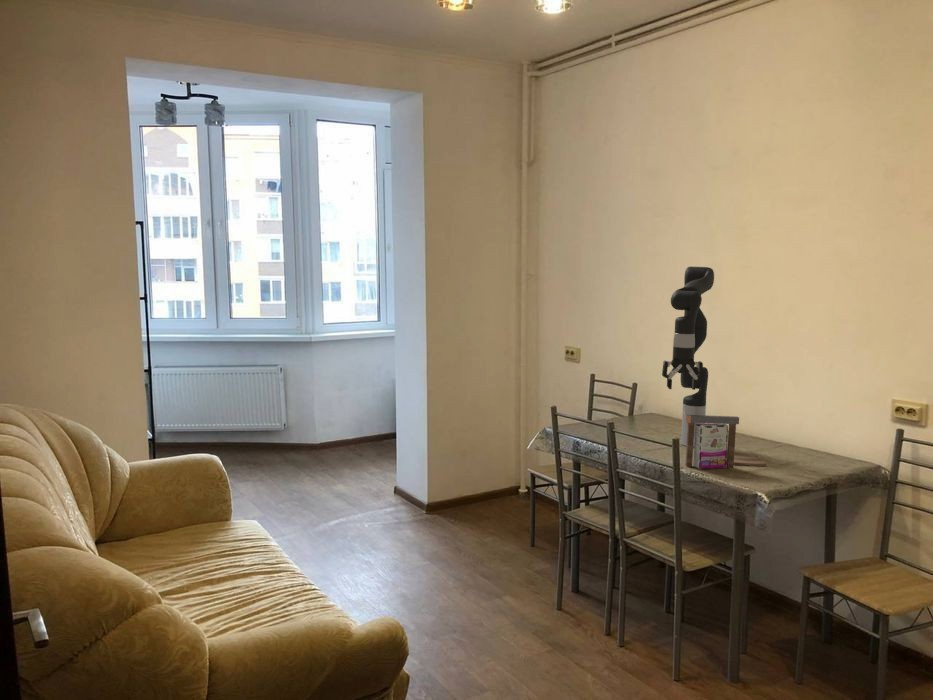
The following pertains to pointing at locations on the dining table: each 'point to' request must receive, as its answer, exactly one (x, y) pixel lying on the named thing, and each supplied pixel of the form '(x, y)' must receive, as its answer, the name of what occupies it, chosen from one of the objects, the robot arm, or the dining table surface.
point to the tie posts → (729, 451)
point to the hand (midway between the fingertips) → (681, 389)
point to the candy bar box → (710, 446)
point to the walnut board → (748, 460)
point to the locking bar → (711, 419)
